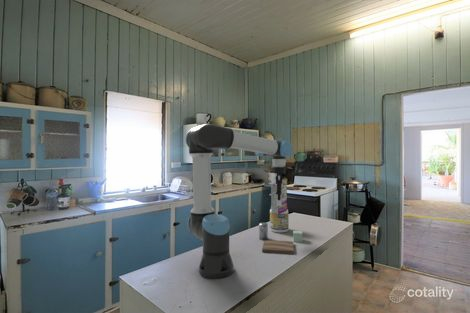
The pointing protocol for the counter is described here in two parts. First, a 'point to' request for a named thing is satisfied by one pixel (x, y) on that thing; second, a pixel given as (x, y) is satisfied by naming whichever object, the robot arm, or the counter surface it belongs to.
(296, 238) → the sage block
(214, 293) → the counter surface
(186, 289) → the counter surface
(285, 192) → the candy bar box
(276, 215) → the supplement tub
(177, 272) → the counter surface
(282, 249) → the board
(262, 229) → the grey tin
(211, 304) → the counter surface
